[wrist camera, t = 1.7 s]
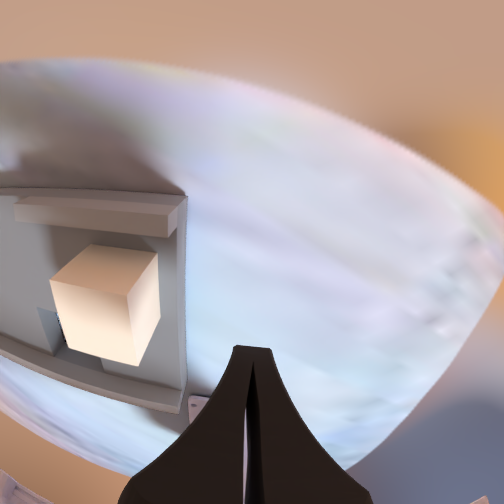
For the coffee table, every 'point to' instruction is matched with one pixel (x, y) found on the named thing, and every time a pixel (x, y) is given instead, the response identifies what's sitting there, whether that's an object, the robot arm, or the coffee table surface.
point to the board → (61, 253)
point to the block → (109, 302)
